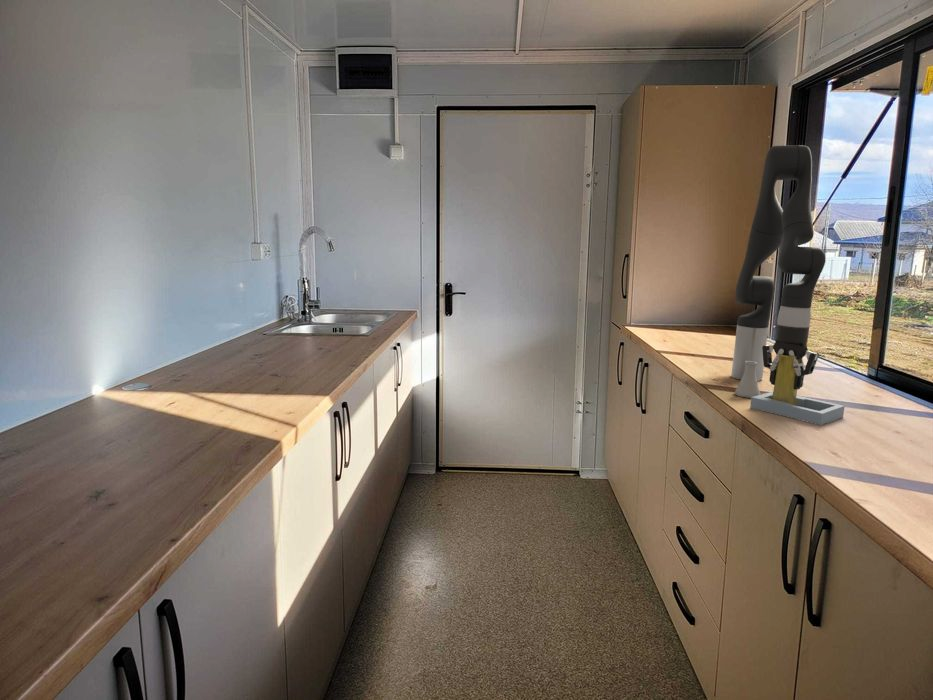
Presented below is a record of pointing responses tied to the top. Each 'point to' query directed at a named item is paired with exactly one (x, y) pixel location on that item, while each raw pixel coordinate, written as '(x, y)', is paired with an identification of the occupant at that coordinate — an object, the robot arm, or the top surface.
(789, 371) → the vase
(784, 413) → the keyhole board
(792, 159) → the robot arm
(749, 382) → the flask
